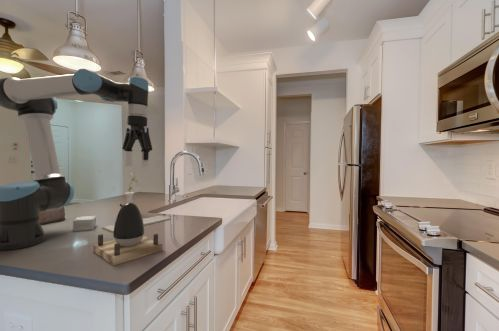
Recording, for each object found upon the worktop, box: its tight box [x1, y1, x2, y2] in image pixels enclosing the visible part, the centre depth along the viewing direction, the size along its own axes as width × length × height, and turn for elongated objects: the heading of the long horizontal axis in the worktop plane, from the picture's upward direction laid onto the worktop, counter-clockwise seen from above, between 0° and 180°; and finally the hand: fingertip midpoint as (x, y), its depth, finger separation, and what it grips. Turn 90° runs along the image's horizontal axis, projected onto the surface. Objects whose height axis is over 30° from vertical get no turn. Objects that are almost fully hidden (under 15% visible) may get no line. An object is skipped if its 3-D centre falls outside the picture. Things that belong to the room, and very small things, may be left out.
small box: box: [72, 215, 97, 232], centre depth 116 cm, size 8×8×5 cm
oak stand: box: [92, 233, 163, 266], centre depth 90 cm, size 17×17×6 cm
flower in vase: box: [124, 172, 140, 203], centre depth 140 cm, size 13×11×25 cm
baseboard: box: [101, 213, 171, 234], centre depth 127 cm, size 31×3×12 cm
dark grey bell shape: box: [112, 202, 145, 247], centre depth 90 cm, size 10×10×15 cm
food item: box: [39, 206, 66, 226], centre depth 125 cm, size 14×8×10 cm, turn 154°
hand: (135, 167), depth 103 cm, fingers open, 13 cm apart
